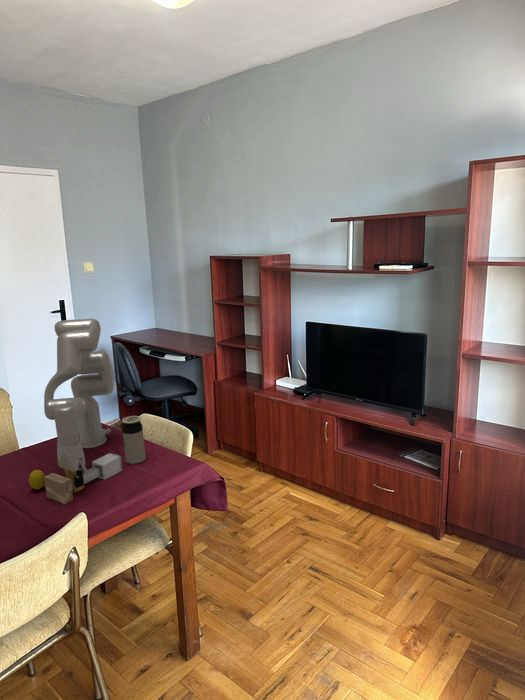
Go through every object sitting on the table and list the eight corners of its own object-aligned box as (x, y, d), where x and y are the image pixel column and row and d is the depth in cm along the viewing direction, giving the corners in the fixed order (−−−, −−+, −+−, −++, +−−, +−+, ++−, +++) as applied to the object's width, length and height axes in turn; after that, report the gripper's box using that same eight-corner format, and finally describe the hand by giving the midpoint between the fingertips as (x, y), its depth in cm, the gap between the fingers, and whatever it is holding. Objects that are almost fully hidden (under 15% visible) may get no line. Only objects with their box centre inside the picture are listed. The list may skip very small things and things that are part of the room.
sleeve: (111, 466, 200) (110, 452, 199) (122, 470, 197) (121, 456, 196) (93, 476, 193) (91, 461, 192) (104, 479, 190) (102, 465, 188)
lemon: (37, 494, 181) (34, 474, 179) (27, 491, 183) (24, 471, 182) (50, 487, 185) (47, 468, 184) (40, 484, 188) (37, 465, 186)
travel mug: (148, 456, 209) (144, 415, 204) (140, 464, 201) (136, 423, 197) (130, 455, 210) (126, 415, 206) (122, 463, 202) (117, 422, 198)
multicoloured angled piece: (98, 473, 194) (96, 452, 192) (106, 476, 192) (103, 454, 189) (55, 496, 178) (52, 473, 176) (63, 499, 176) (59, 476, 174)
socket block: (55, 492, 181) (52, 472, 180) (73, 499, 176) (70, 479, 174) (47, 497, 179) (44, 476, 177) (64, 504, 173) (61, 483, 171)
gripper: (45, 437, 180) (52, 483, 184) (75, 447, 171) (81, 495, 175) (63, 430, 186) (69, 475, 190) (93, 439, 177) (99, 485, 181)
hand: (75, 484), depth 182 cm, fingers closed on multicoloured angled piece, 4 cm apart
